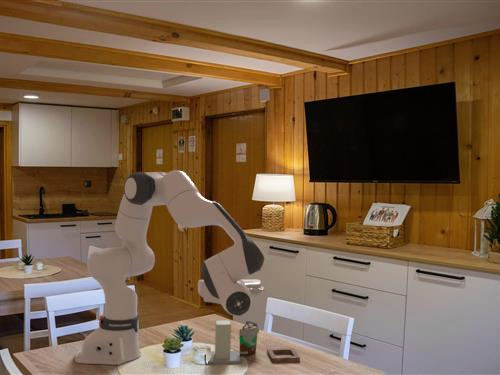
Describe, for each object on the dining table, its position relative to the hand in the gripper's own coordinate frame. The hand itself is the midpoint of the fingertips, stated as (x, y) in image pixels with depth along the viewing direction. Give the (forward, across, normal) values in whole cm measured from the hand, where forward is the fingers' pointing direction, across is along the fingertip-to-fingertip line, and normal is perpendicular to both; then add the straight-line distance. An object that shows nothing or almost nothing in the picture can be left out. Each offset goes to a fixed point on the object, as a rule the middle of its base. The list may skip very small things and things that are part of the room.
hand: (227, 281), depth 169 cm
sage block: (+12, 0, +29) cm, 31 cm away
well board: (+12, -22, +30) cm, 39 cm away
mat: (+12, 0, +30) cm, 32 cm away
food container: (+18, -11, +30) cm, 37 cm away
